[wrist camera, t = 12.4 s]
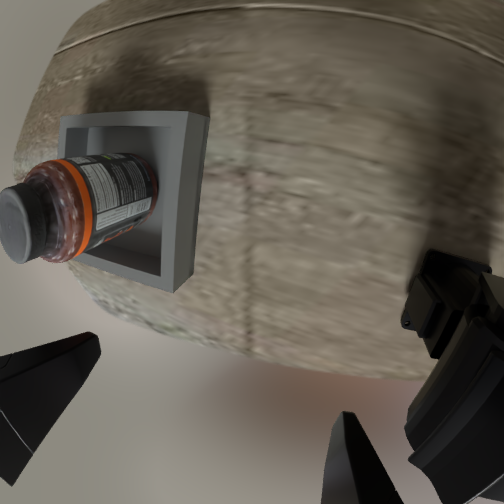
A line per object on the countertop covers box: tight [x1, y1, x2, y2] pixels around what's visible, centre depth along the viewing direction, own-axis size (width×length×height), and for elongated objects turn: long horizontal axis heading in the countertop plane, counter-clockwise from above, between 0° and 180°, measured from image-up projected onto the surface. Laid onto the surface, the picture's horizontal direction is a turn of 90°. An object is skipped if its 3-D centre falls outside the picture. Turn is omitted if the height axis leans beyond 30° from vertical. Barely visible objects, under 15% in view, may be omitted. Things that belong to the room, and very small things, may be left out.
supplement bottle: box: [0, 153, 158, 264], centre depth 16 cm, size 6×6×11 cm
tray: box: [57, 111, 210, 293], centre depth 20 cm, size 12×12×4 cm
